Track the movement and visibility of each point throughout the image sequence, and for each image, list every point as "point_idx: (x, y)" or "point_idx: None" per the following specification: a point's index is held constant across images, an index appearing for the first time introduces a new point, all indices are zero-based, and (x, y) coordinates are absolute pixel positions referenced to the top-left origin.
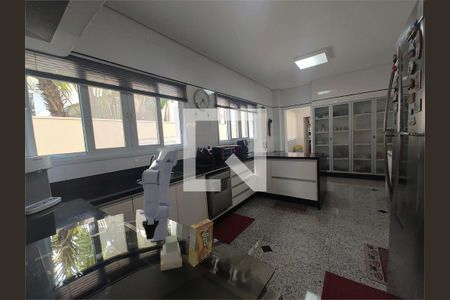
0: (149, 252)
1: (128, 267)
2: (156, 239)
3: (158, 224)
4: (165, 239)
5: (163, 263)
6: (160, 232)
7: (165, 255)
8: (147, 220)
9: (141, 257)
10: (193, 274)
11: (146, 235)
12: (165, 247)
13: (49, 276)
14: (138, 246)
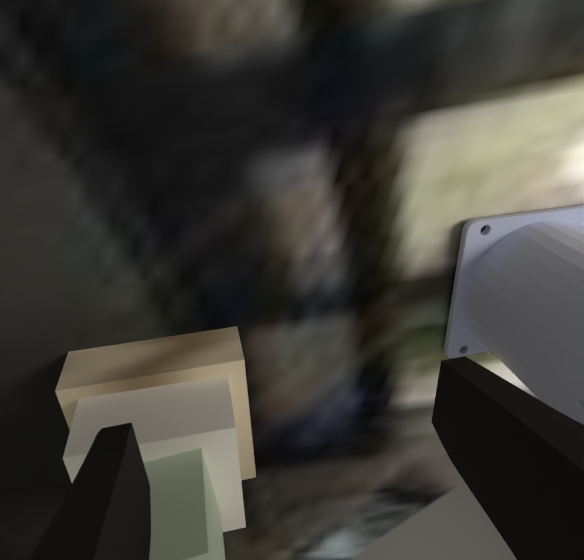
0: (317, 232)
1: (135, 69)
2: (467, 271)
3: (578, 375)
4: (192, 533)
5: (66, 404)
6: (502, 335)
7: (71, 465)
8: (566, 477)
9: (263, 173)
10: (24, 529)
11: (67, 499)
12: (164, 469)
13: None
14: (439, 115)
